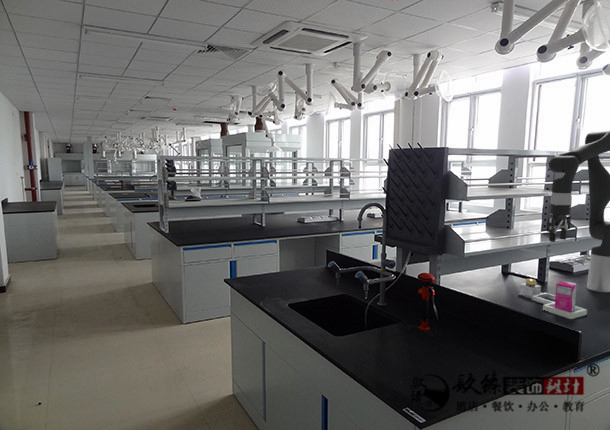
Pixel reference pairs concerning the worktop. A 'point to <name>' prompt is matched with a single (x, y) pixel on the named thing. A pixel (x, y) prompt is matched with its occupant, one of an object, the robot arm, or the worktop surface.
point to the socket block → (535, 293)
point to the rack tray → (572, 315)
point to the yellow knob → (531, 282)
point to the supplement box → (565, 296)
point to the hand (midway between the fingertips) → (557, 240)
